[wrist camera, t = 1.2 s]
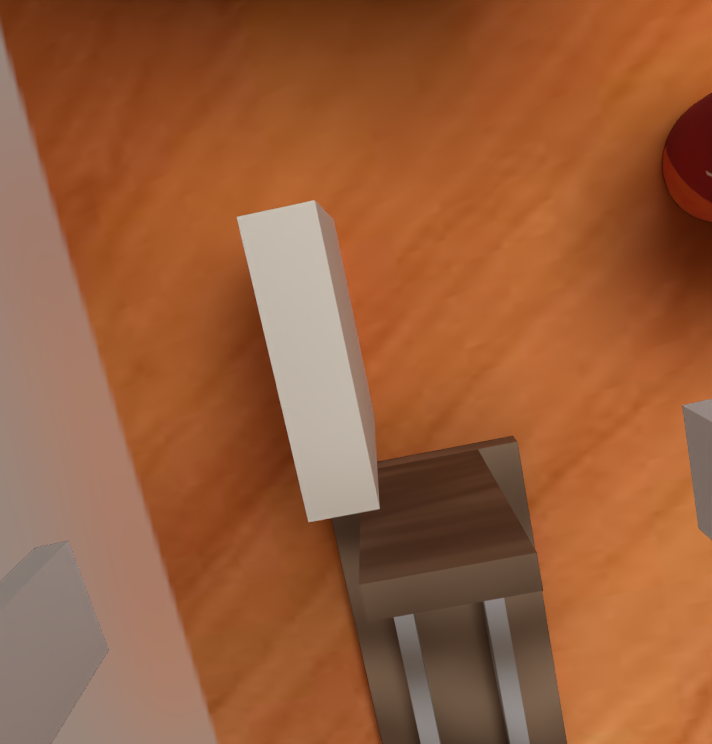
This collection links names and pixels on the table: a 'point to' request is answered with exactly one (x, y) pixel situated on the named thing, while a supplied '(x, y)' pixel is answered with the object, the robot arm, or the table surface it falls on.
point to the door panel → (314, 356)
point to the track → (452, 601)
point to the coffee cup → (691, 160)
